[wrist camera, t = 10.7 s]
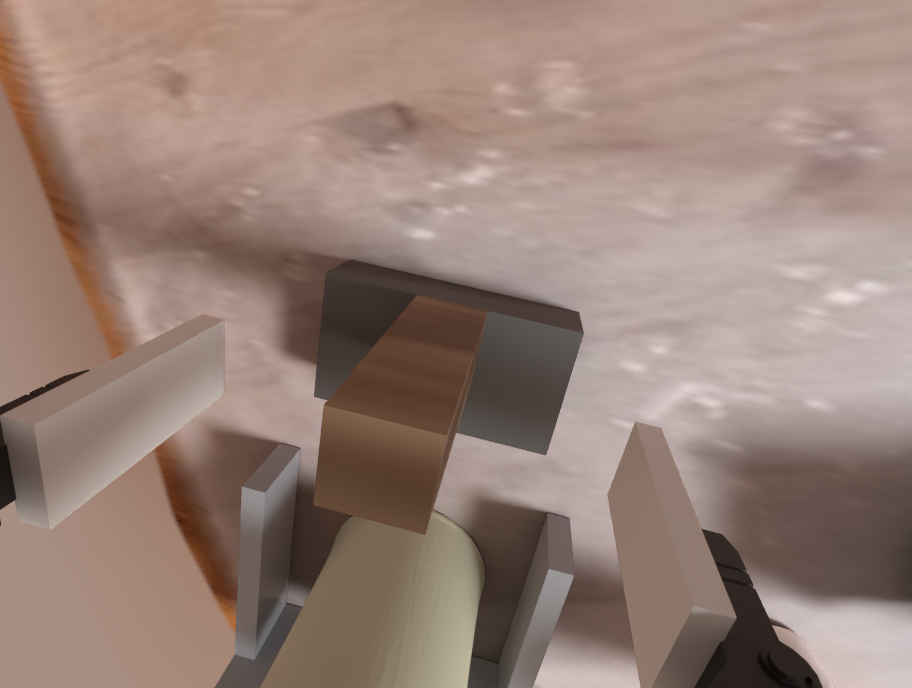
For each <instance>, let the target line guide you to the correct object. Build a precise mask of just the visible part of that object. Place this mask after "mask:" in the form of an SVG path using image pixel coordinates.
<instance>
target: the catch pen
mask: <svg viewBox="0 0 912 688" xmlns="http://www.w3.org/2000/svg"><path fill="white" fill-rule="evenodd" d="M300 450H301V448H297V447H293V446H289V445H285V444H282V443H280V444H279V445H278V446H277V447H276V449H275V450H274V451H273V452H272V453H271V454H270V455H269V456H268V458H267V459H266V460H265V461H264V462H263V463H262V464H261V465H260V467H259V468H258V469H257V470H256V471H255V472H254V473H253V475H252V476H251V477H250V478H249V479H248V480H247V481H246V482H245V484H244V485H243V486H242V494H241V518H240V542H239V566H238V589H237V613H236V637H235V655H234V657H233V658H232V660H231V662H230V664H229V665H228V667H227V668H226V670H225V672H224V673H223V675H222V677H221V678H220V680H219V681H218V683H217V685H216V686H215V688H260V687H261V685H262V683H263V681H264V679H265V677H266V676H267V674H268V672H269V670H270V668H271V666H272V664H273V662H274V661H275V659H276V657H277V655H278V653H279V651H280V649H281V647H282V646H283V644H284V642H285V640H286V638H287V636H288V634H289V632H290V631H291V629H292V627H293V625H294V623H295V621H296V619H297V617H298V615H299V613H300V611H301V609H302V608H301V607H297V606H294V605H290V604H287V603H286V602H287V591H288V580H289V569H290V558H291V548H292V537H293V526H294V515H295V504H296V493H297V482H298V472H299V461H300ZM573 578H574V566H573V553H572V541H571V528H570V518H566V517H562V516H558V515H554V514H551V513H547V517H546V520H545V523H544V526H543V529H542V532H541V535H540V538H539V541H538V544H537V547H536V550H535V553H534V556H533V559H532V562H531V565H530V569H529V572H528V575H527V578H526V581H525V584H524V587H523V590H522V593H521V596H520V599H519V602H518V605H517V608H516V611H515V614H514V617H513V620H512V624H511V627H510V630H509V633H508V636H507V639H506V642H505V645H504V648H503V651H502V654H501V657H500V660H499V663H495V662H492V661H488V660H484V659H481V658H477V657H474V656H471V661H470V669H469V676H468V684H467V688H533V685H534V682H535V680H536V677H537V674H538V671H539V669H540V666H541V663H542V661H543V658H544V655H545V653H546V650H547V647H548V645H549V642H550V639H551V637H552V634H553V631H554V629H555V626H556V623H557V621H558V618H559V615H560V613H561V610H562V607H563V605H564V602H565V599H566V597H567V594H568V591H569V588H570V586H571V583H572V580H573Z"/></svg>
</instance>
